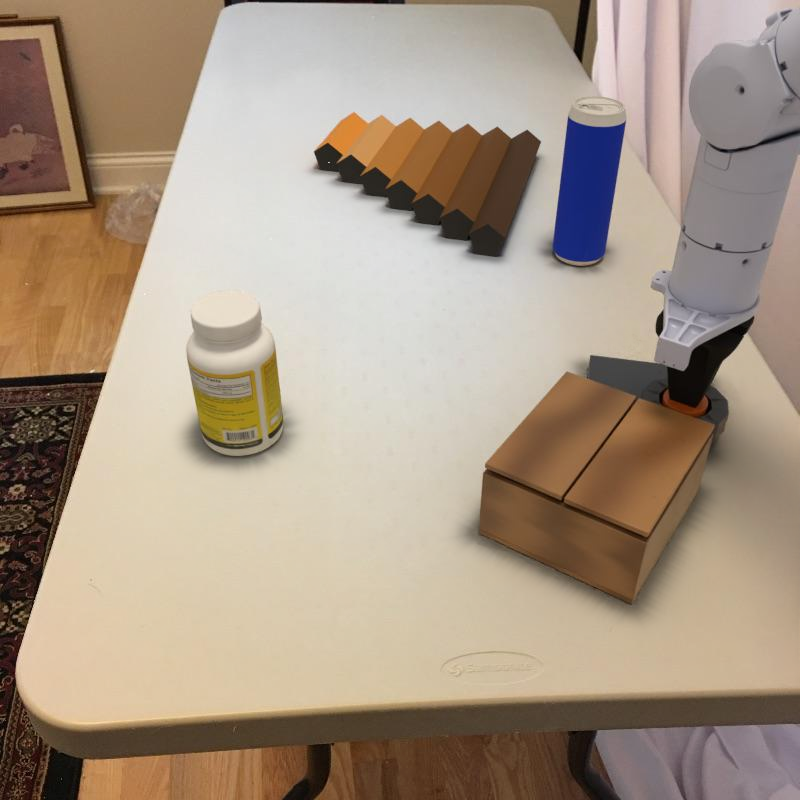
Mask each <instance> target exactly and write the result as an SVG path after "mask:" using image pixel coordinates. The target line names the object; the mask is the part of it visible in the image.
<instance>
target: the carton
mask: <svg viewBox="0 0 800 800" xmlns="http://www.w3.org/2000/svg"><path fill="white" fill-rule="evenodd" d="M587 378H588V377H584V376H581V375H579V374H576V373H573V372H570V371H568V370H567V371H565V372H564V374H563V375H561V377H560V378H559V380H557V382H555V384H554V385H553V386H552V387H551V388H550V389H549V390H548V392H546V394H545V395H544V396H543V397H542V399H540V401H539V402H538V403H537V404H536V405H535V406H534V408H533V409H532V410H531V411H530V412H529V413H528V414H527V415H526V417H525V418H524V419H523V420H522V421H521V422H520V423H519V424H518V425H517V426H516V428H515V429H514V430H513V431H512V432H511V434H509V436H508V437H507V438H506V439H505V440H504V441H503V443H502V444H501V445H499V447H498V449H496V451H495V452H494V453H493V454H492V455H491V456H490V457H489V459H487V461H486V462H485V464H484V468H485V470H484V471H483V472H482V482H481V496H480V508H479V520H478V534H480V535H482V536H485V537H487V538H488V539H490V540H493V541H495V542H497V543H498V544H499V543H500V544H501V545H503V546H505V547H508V548H510V549H512V550H514V551H517V552H519V553H521V554H523V555H525V556H527V557H529V558H531V559H534V560H536V561H538V562H540V563H542V564H544V565H547V566H548V567H551V568H552V569H555V570H558V571H559V572H561V573H564V574H566V575H568V576H570V577H572V578H574V579H577V580H578V581H580V582H583V583H585V584H587V585H589V586H592V587H594V588H596V589H598V590H600V591H602V592H605V593H607V594H608V595H610V596H613V597H615V598H617V599H619V600H621V601H624V602H626V603H627V604H630V605H632V604H634V601H635V600H636V598H637V596H638V595H639V594H640V591H641V590H642V588H643V586H644V584H645V583H646V581H647V580H648V577H649V576H650V574H651V572H652V571H653V569H654V568H655V566H656V564H657V562H658V560H659V559H660V558H661V556H662V554H663V552H664V550H665V548H666V547H667V545H668V543H670V540H671V539H672V536H673V535H674V533H675V531H676V530H677V528H678V526H679V525H680V523H681V521H682V519H683V518H684V516H685V514H686V513H687V511H688V509H689V507H690V506H691V504H692V502H693V500H694V499H695V497H696V495H697V494H698V490H699V489H700V488H699V487H700V484H701V480H702V476H703V473H704V469H705V466H706V463H707V459H708V456H709V452H710V448H711V445H712V443H713V442H712V438H713V434H712V433H711V434H710V436H709V437H708V439H707V441H706V442H705V444H704V446H703V447H702V449H701V450H700V452H699V454H698V455H697V457H696V459H695V460H694V462H693V463H692V465H691V467H690V468H689V470H688V472H687V473H686V475H685V476H684V478H683V480H682V481H681V483H680V485H679V486H678V488H677V490H676V491H675V493H674V494H673V496H672V498H671V499H670V501H669V503H668V504H667V506H666V507H665V509H664V511H663V512H662V514H661V516H660V517H659V519H658V520H657V522H656V524H655V525H654V527H653V529H652V530H651V532H650V534H649V535H648V537H645V536H642V535H640V534H638V533H635V532H633V531H631V530H628V529H626V528H623V527H621V526H619V525H616V524H614V523H611V522H609V521H607V520H604V519H602V518H600V517H597V516H595V515H592V514H590V513H588V512H585V511H583V510H580V509H578V508H576V507H573V506H571V505H568V504H566V503H564V498H565V496H566V495H567V494H568V492H569V491H570V490H571V488H572V487H573V486H574V484H575V483H576V482H577V480H578V479H579V478H580V476H581V475H582V474H583V472H584V471H585V470H586V468H587V467H588V466H589V464H590V463H591V462H592V460H593V459H594V458H595V456H596V455H597V454H598V452H599V451H600V450H601V448H602V447H603V446H604V444H605V443H606V442H607V440H608V439H609V438H610V436H611V435H612V434H613V432H614V431H615V430H616V428H617V427H618V426H619V424H620V423H621V422H622V420H623V419H624V417H625V416H626V415H627V413H628V412H629V411H630V409H631V408H632V407H633V404H634V403H635V401H636V398H637V396H634V395H631V394H629V393H626V392H623V391H620V390H617V389H615V388H612V387H609V386H606V385H604V384H601V383H598V382H595V381H592V380H590V379H587Z"/></svg>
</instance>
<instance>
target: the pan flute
mask: <svg viewBox="0 0 800 800" xmlns="http://www.w3.org/2000/svg"><path fill="white" fill-rule="evenodd" d="M541 143H542V141H541V140H540V139H539V138H538V137H537V136H536V135H534V134H533V133H532V132H531V131H530V130H528V129H525V130H524V131H522V132H520V133H519V134H516V135H515V136H513V137H510V135H508V134H507V133H506V132H505V131H503V130H502V129H501V128H500V127H499V126H496V127H494V128H492V129H491V130H489V131H486V132H485V133H484V134H481V133H480V132H479V131H478V130H477V129H475V128H474V127H473V126H472V125H471V124H469V123H466V124H464V125H462V126H461V127H460V128H458V129H456V130H454V131H452V130H451V128H450V129H449V127H448V126H446V125H445V124H444V123H443V122H441V120H437V121H435V122H434V123H432V124H431V125H429V126H427V127H426V128H424V127H422V126H421V124H419V123H418V122H416V121H415V120H414V119H413V118H412V117H409V118H407V119H406V120H404V121H402V122H400V123H399V124H398V125H395V123H393V122H391V120H389V119H388V118H387V117H386V116H385V115H383V114H381V115H379V116H377V117H376V118H374V119H373V120H371V121H370V122H367V121H366V120H364V118H362V117H361V116H360V115H359V114H358V113H356V112H355V111H353V112H351V113H350V114H349V115H347V116H345V117H344V118H343V119H340V120H339V122H338V123H337V124H336V125H335V126H334V128H332V130H331V131H330V132H329V133H328V135H327V136H326V137H325V138H324V139H323V141H321V143H320V144H319V145H317V147H316V148H315V149H314V151H313V153H314V154H313V155H314V156H315V159H316V162H317V165H318V168H319V170H322V171H330V172H338V173H339V176H340V179H341V181H342V182H344V183H352V184H359V185H362V186H363V189H364V193H365V194H366V195H367V196H368V195H369V196H374V197H383V198H386V197H387V199H388V200H387V201H388V202H389V205H390V208H391V209H394V210H395V209H396V210H403V211H412V210H413V212H414V216H415V220H416V222H417V223H418V224H426V225H435V226H439V224H441V228H442V232H443V234H444V235H443V236H444V238H445V239H446V238H447V239H452V240H461V241H467V240H468V238H470V241H471V246H472V249H473V252H474V254H475V255H482V256H490V257H497V256H498V254H499V252H500V250H501V248H502V246H503V244H504V241H505V239H506V237H507V234H508V232H509V230H510V227H511V223H512V221H513V218H514V216H515V213H516V210H517V209H518V208H517V207H518V205H519V203H520V199H521V197H522V194H523V191H524V190H525V189H524V188H525V187H526V184H527V182H528V178H529V175H530V174H531V170H532V168H533V165H534V162H535V160H536V157H537V154H538V151H539V150H540V146H541ZM328 162H330V163H328Z"/></svg>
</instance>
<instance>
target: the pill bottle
mask: <svg viewBox="0 0 800 800" xmlns="http://www.w3.org/2000/svg"><path fill="white" fill-rule="evenodd" d="M190 320H191V327H192V330H193V331H192V332H191V334H190V336H189V337H188V340H187V342H186V348H185V352H186V359H187V360H186V361H187V365H188V371H189V376H190V381H191V387H192V392H193V397H194V403H195V407H196V408H195V409H196V413H197V418H198V423H199V430H200V433H201V436H202V439H203V441H204V442H205V444H206V445H207V446H208V447H209V448H210V449H212V450H213V451H215V452H218V453H219V454H222V455H226V456H231V457H234V456H235V457H242V456H249V455H253V454H257V453H260V452H262V451H264V450H266V449H268V448H270V447H271V446H272V445H274V444H275V443H276V442H277V441H278V439H280V437H281V435H282V433H283V429H284V413H283V405H282V395H281V386H280V377H279V368H278V367H279V366H278V358H277V350H276V342H275V338H274V335H273V333H272V332H271V329H269V328H268V327H267V325H265V324H264V323H263V322H262V321H263V316H262V311H261V304H260V301H259V300H258V299H257V298H256V297H255V296H254V295H252V294H250V293H248V292H246V291H241V290H235V289H234V290H233V289H232V290H230V289H228V290H219V291H215V292H211V293H208V294H206V295H204V296H202V297H200V298H199V299H197V300H196V301H195V302H194V303H193V304H192V306H191V309H190Z"/></svg>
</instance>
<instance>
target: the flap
mask: <svg viewBox="0 0 800 800" xmlns="http://www.w3.org/2000/svg"><path fill="white" fill-rule="evenodd" d="M714 426H715V425H714V424H712V423H709V422H706V421H703V420H700V419H697V418H695V417H692V416H689V415H686V414H683V413H680V412H677V411H675V410H672V409H669V408H666V407H663V406H660V405H657V404H654V403H652V402H649V401H646V400H643V399H640V398H639V399H638V400H637V401H636V403H635V404H634V405H633V407H632V408H631V409H630V411H629V412H628V413H627V415H626V416H625V417H624V419H623V420H622V422H621V423H620V424H619V426H618V427H617V428H616V430H615V431H614V432H613V434H612V435H611V436H610V438H609V439H608V440H607V442H606V443H605V444H604V446H603V447H602V448H601V450H600V451H599V452H598V454H597V455H596V456H595V458H594V459H593V460H592V462H591V463H590V464H589V466H588V467H587V468H586V470H585V471H584V472H583V474H582V475H581V476H580V478H579V479H578V480H577V482H576V483H575V484H574V486H573V487H572V488H571V490H570V491H569V492H568V494H567V495H566V496H565V498H564V503H566V504H568V505H571V506H573V507H576V508H578V509H580V510H583V511H585V512H588V513H590V514H592V515H595V516H597V517H600V518H602V519H604V520H607V521H609V522H611V523H614V524H616V525H619V526H621V527H623V528H626V529H628V530H631V531H633V532H635V533H638V534H640V535H642V536H645V537H648V535H649V534H650V532H651V530H652V529H653V527H654V525H655V524H656V522H657V520H658V519H659V517H660V516H661V514H662V512H663V511H664V509H665V507H666V506H667V504H668V503H669V501H670V499H671V498H672V496H673V494H674V493H675V491H676V490H677V488H678V486H679V485H680V483H681V481H682V480H683V478H684V476H685V475H686V473H687V472H688V470H689V468H690V467H691V465H692V463H693V462H694V460H695V459H696V457H697V455H698V454H699V452H700V450H701V449H702V447H703V446H704V444H705V442H706V441H707V439H708V437H709V436H710V434H711V432H712V431H713V429H714Z"/></svg>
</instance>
